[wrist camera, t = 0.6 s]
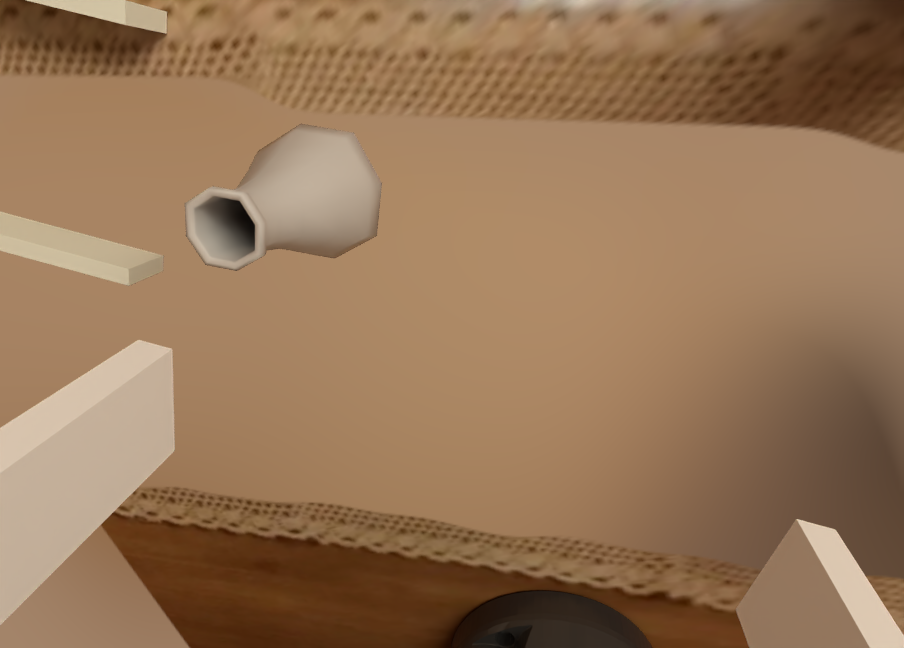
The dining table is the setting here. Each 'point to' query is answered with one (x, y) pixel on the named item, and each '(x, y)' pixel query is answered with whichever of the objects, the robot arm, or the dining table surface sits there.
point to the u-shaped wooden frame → (74, 246)
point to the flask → (290, 201)
